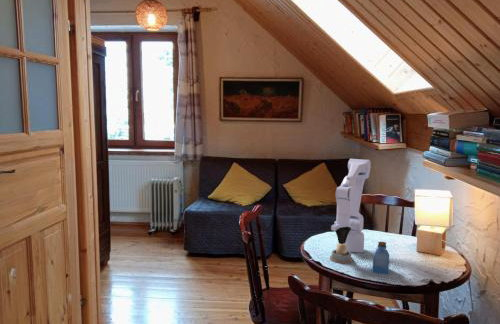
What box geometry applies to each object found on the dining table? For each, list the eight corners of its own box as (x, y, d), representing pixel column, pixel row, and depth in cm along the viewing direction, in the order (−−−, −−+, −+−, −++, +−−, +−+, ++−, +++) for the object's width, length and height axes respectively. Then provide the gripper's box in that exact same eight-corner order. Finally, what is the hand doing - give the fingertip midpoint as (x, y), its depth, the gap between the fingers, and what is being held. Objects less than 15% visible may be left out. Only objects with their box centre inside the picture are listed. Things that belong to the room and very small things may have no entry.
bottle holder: (349, 255, 187) (350, 249, 187) (355, 263, 177) (355, 256, 177) (328, 255, 187) (328, 248, 187) (331, 263, 178) (332, 256, 177)
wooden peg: (345, 256, 185) (345, 243, 184) (347, 259, 180) (347, 246, 179) (335, 256, 185) (335, 243, 184) (337, 259, 180) (337, 246, 179)
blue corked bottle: (388, 268, 172) (390, 241, 171) (388, 274, 166) (390, 246, 165) (373, 266, 174) (374, 239, 173) (372, 272, 168) (374, 244, 167)
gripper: (344, 209, 188) (343, 237, 189) (325, 214, 178) (324, 244, 179) (358, 212, 183) (356, 241, 184) (339, 217, 173) (338, 248, 174)
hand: (341, 243), depth 181 cm, fingers closed
